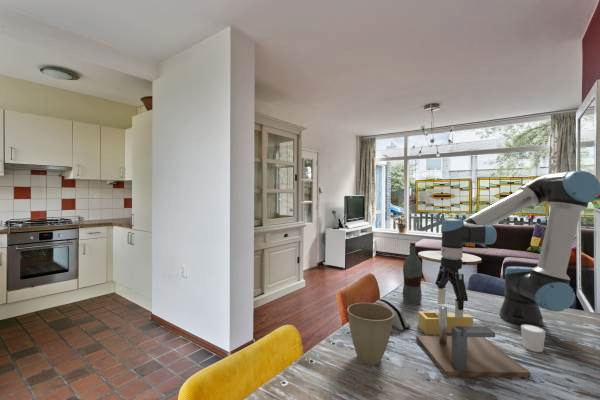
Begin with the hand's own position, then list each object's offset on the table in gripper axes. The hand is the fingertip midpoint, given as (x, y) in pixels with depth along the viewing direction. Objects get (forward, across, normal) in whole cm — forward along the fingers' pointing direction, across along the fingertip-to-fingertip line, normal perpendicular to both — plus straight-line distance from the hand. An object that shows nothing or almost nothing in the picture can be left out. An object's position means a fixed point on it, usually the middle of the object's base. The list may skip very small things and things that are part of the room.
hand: (449, 310), depth 116 cm
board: (+8, +19, -4) cm, 21 cm away
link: (+8, 0, -1) cm, 8 cm away
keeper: (+8, +28, -8) cm, 30 cm away
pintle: (+8, +13, -9) cm, 18 cm away
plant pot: (+9, +21, -37) cm, 43 cm away
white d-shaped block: (+9, -8, -21) cm, 24 cm away
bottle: (+8, -31, -3) cm, 32 cm away
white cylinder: (+8, +13, +23) cm, 28 cm away
